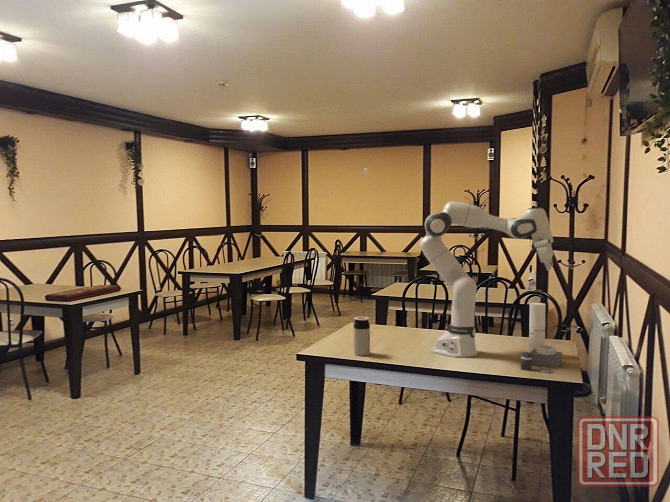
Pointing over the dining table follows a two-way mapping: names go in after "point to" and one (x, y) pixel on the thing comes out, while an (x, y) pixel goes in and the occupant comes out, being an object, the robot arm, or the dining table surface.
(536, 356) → the grey box with knob
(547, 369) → the lens cap
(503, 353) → the dining table surface
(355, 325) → the travel mug
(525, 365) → the lens
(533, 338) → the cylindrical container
